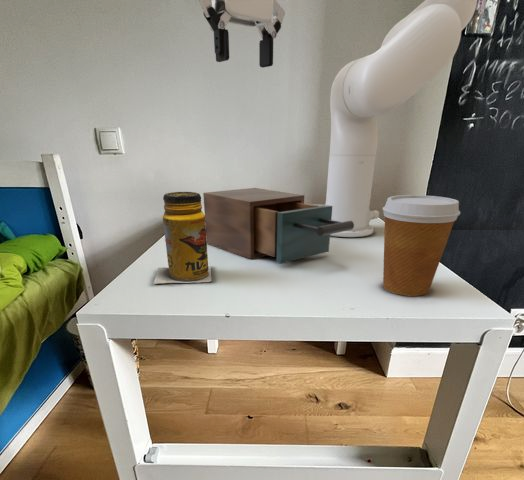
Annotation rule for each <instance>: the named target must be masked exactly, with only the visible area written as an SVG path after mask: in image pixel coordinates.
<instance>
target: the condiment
mask: <svg viewBox="0 0 524 480" xmlns="http://www.w3.org/2000/svg"><path fill="white" fill-rule="evenodd" d="M162 198H163V199H162V200H163V204H164V205H163V209H164V213H163V215H162V223H163V232H164V240H165V248H166V259H167V266H168V267H165V266H163V267H157V270H156V275H155V277H154V280H153V283H152V284H153V285H155V284H156V285H157V284H191V283H209V282H212V269H211V268H212V267H211V266H210V265H209V257H208V255H209V254H208V244H207V239H206V226H205V212H203V211H202V210H203V205H202V196H201V194H200V193H199V192H196V191H195V192H194V191H172V192H167V193H164V194H163V197H162Z"/></svg>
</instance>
